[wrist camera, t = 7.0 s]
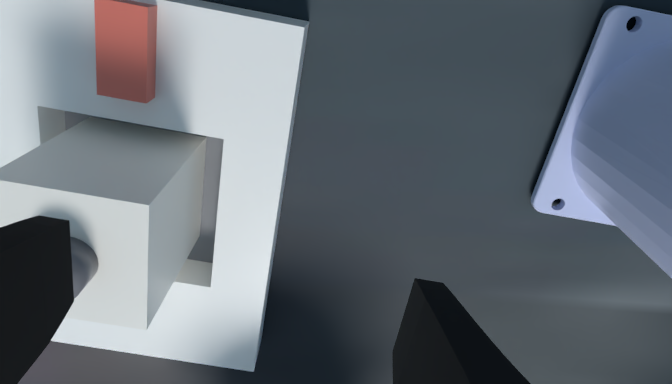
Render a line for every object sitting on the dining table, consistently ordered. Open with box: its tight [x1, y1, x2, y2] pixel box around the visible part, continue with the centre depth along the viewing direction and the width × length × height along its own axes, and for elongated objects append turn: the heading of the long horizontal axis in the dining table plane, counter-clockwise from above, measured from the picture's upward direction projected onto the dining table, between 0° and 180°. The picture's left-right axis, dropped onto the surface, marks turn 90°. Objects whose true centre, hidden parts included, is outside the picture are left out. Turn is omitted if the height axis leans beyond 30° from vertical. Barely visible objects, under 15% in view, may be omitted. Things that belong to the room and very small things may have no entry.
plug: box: [0, 117, 207, 330], centre depth 16 cm, size 4×4×7 cm
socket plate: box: [0, 0, 309, 372], centre depth 19 cm, size 11×15×3 cm
